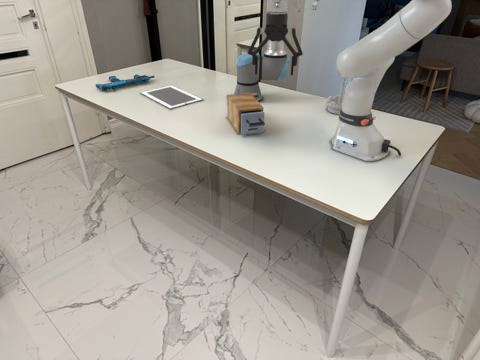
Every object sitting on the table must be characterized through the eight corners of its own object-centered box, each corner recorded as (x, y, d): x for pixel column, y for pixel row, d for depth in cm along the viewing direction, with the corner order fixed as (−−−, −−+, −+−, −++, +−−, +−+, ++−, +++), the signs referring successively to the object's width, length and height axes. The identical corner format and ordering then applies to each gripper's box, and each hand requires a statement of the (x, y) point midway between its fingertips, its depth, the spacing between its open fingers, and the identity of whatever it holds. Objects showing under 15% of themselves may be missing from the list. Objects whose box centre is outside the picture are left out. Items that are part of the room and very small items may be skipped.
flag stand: (341, 103, 177) (352, 43, 161) (357, 112, 167) (370, 48, 150) (320, 107, 173) (328, 45, 157) (335, 116, 163) (345, 51, 146)
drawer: (268, 137, 142) (269, 117, 137) (245, 140, 140) (245, 120, 135) (250, 116, 161) (251, 97, 156) (230, 118, 159) (230, 99, 154)
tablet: (140, 93, 192) (140, 92, 192) (171, 85, 203) (171, 85, 203) (170, 109, 171) (170, 108, 171) (202, 99, 183) (202, 99, 182)
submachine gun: (140, 69, 224) (158, 75, 207) (141, 74, 225) (159, 81, 209) (88, 79, 205) (103, 86, 188) (89, 85, 207) (105, 93, 190)
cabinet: (262, 131, 150) (263, 107, 144) (238, 134, 147) (238, 110, 141) (249, 114, 166) (249, 92, 160) (227, 117, 163) (226, 94, 157)
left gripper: (240, 13, 116) (240, 75, 128) (314, 14, 114) (307, 77, 126) (242, 10, 123) (242, 70, 134) (312, 11, 120) (306, 71, 132)
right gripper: (295, -30, 119) (292, 13, 127) (334, -31, 130) (329, 9, 137) (283, -30, 124) (281, 12, 131) (321, -31, 134) (317, 8, 141)
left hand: (273, 74), depth 130 cm, fingers open, 13 cm apart
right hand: (306, 10), depth 134 cm, fingers open, 8 cm apart
